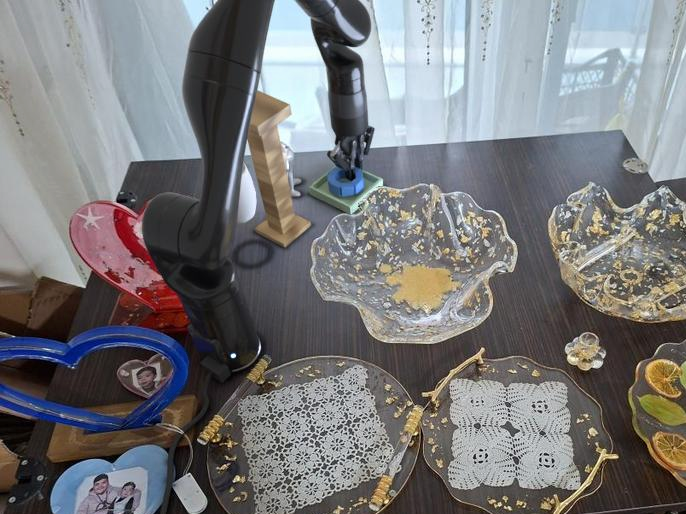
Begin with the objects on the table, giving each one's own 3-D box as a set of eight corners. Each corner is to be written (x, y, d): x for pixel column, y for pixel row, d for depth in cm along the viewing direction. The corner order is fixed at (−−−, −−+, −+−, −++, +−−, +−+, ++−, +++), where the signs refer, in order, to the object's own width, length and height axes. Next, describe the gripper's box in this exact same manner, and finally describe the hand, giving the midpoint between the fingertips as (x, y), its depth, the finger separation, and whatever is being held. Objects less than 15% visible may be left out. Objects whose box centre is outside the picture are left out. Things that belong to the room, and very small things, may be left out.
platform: (284, 248, 122) (257, 126, 100) (255, 232, 125) (222, 110, 103) (311, 225, 126) (290, 104, 104) (282, 210, 129) (255, 89, 107)
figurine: (300, 199, 131) (291, 152, 122) (280, 199, 131) (270, 153, 122) (302, 178, 136) (293, 131, 126) (282, 178, 136) (273, 132, 126)
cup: (234, 270, 118) (205, 184, 102) (233, 244, 123) (206, 158, 106) (272, 264, 119) (250, 179, 103) (270, 239, 124) (248, 153, 107)
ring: (349, 201, 129) (348, 192, 127) (321, 187, 132) (320, 178, 130) (370, 182, 133) (370, 173, 131) (343, 169, 136) (342, 160, 134)
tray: (350, 215, 129) (350, 207, 127) (309, 194, 132) (308, 186, 131) (383, 186, 135) (382, 178, 133) (342, 167, 138) (342, 159, 137)
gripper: (341, 129, 115) (348, 200, 129) (384, 96, 123) (386, 167, 136) (310, 116, 118) (320, 187, 131) (354, 84, 125) (360, 155, 139)
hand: (354, 176), depth 134 cm, fingers closed on ring, 1 cm apart
